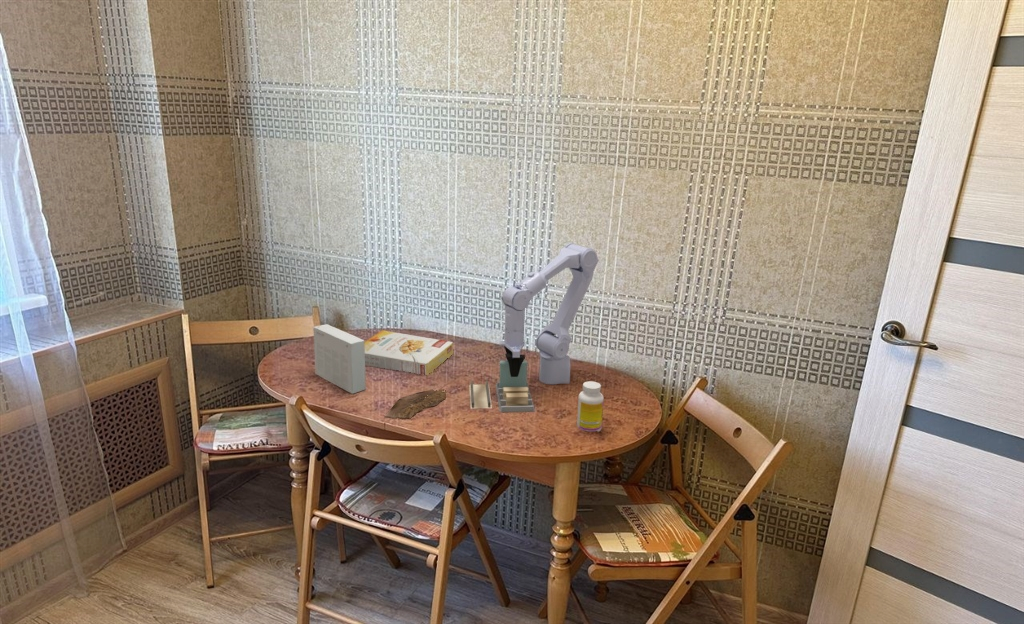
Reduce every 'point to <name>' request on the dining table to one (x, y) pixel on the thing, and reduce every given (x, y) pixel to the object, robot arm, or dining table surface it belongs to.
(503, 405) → the rack
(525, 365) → the teal rectangular block
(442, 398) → the wooden fragment
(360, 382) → the skincare box
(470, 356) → the dining table surface
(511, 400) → the offcut front
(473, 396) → the holder
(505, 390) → the block
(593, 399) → the supplement bottle
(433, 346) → the cereal box
